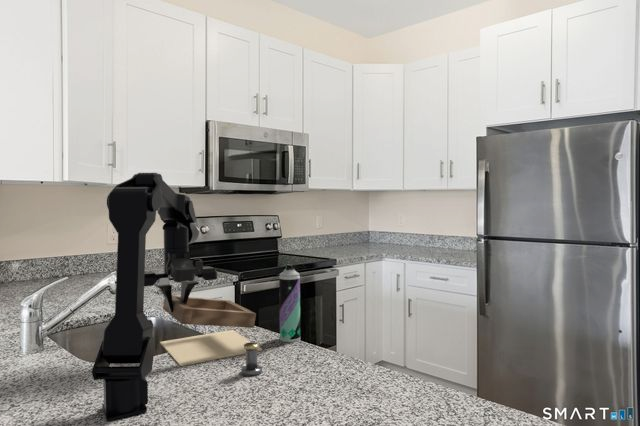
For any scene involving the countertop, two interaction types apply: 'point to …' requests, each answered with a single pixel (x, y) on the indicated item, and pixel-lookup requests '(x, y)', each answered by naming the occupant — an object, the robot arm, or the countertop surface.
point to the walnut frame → (210, 312)
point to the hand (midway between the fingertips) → (177, 311)
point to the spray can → (289, 304)
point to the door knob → (251, 360)
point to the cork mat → (206, 347)
